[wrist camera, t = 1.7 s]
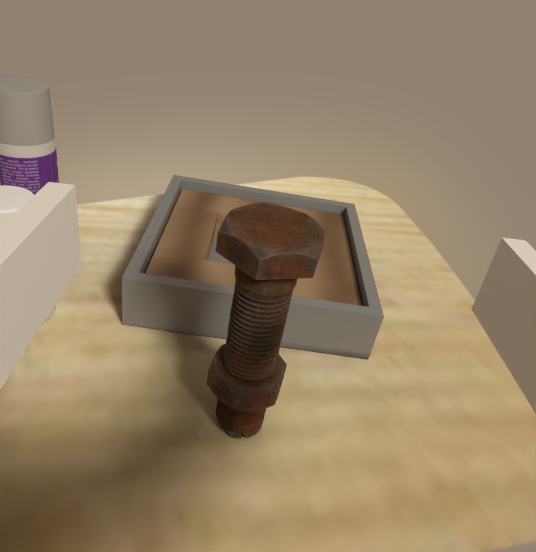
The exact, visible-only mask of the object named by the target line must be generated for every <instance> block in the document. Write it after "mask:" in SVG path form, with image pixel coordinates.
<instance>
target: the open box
mask: <svg viewBox="0 0 536 552" xmlns="http://www.w3.org/2000/svg"><path fill="white" fill-rule="evenodd" d="M182 189H186V190H192V191H198V192H205V193H211V194H217V195H223V196H230V197H236V198H242V199H248V200H255V201H261V202H267V203H273V204H280V205H286V206H292V207H298V208H304V209H311V210H317V211H323V212H329V213H336V214H342V215H343V217H344V222H345V227H346V232H347V237H348V242H349V247H350V251H351V256H352V261H353V266H354V271H355V276H356V280H357V285H358V290H359V295H360V300H361V305H362V306H359V305H352V304H346V303H339V302H332V301H326V300H319V299H312V298H306V297H299V296H292V297H291V301H290V306H289V311H288V314H287V320H286V324H285V327H284V332H283V336H282V341H281V344H280V347H285V348H291V349H298V350H305V351H312V352H319V353H326V354H333V355H340V356H347V357H354V358H361V359H368V358H369V355H370V353H371V350H372V347H373V345H374V342H375V339H376V336H377V334H378V331H379V328H380V326H381V323H382V320H383V318H384V316H383V312H382V308H381V304H380V300H379V297H378V293H377V289H376V285H375V281H374V277H373V273H372V270H371V266H370V262H369V258H368V254H367V250H366V247H365V243H364V239H363V235H362V231H361V227H360V223H359V220H358V216H357V212H356V208H355V204H350V203H344V202H337V201H331V200H325V199H319V198H313V197H307V196H300V195H294V194H288V193H282V192H276V191H269V190H263V189H257V188H251V187H245V186H239V185H232V184H226V183H220V182H214V181H208V180H201V179H195V178H189V177H182V176H177V175H174V176H173V178H172V180H171V182H170V184H169V186H168V188H167V190H166V192H165V194H164V196H163V198H162V200H161V202H160V204H159V205H158V207H157V209H156V211H155V213H154V215H153V217H152V219H151V221H150V223H149V225H148V227H147V229H146V231H145V233H144V235H143V237H142V239H141V241H140V243H139V245H138V247H137V249H136V251H135V253H134V255H133V257H132V259H131V261H130V263H129V265H128V267H127V268H126V270H125V272H124V274H123V276H122V324H124V325H131V326H138V327H145V328H152V329H159V330H166V331H173V332H180V333H187V334H194V335H201V336H208V337H215V338H222V339H227V333H228V325H229V318H230V311H231V305H232V300H233V294H234V287H232V286H225V285H219V284H212V283H205V282H198V281H192V280H185V279H178V278H172V277H165V276H158V275H152V274H145V273H146V270H147V268H148V266H149V264H150V261H151V259H152V257H153V255H154V252H155V250H156V248H157V245H158V243H159V241H160V239H161V236H162V234H163V232H164V230H165V227H166V225H167V223H168V221H169V218H170V216H171V214H172V212H173V209H174V207H175V205H176V203H177V200H178V198H179V196H180V194H181V191H182ZM216 243H217V239H214V243H213V247H212V251H211V255H210V259H209V261H213V262H219V263H226V264H233V263H231V262H230V261H228V260H227V259H225V258H224V257H223V256H221V255H220V254H218V253H217V252H215V251H216ZM233 265H234V264H233Z"/></svg>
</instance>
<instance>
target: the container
mask: <svg viewBox="0 0 536 552" xmlns="http://www.w3.org/2000/svg"><path fill="white" fill-rule="evenodd" d="M48 182H54V183H59V178H58V166H57V154H56V145H55V136H54V127H53V119H52V110H51V101H50V92H49V86H48V84H47V83H45V82H43V81H40V80H37V79H33V78H27V77H18V76H0V186H3V185H6V186H17V187H21V188H25V189H27V190H29V191H30V192H32V193H33V195H35V194H36V193H37V192H38V191H39V190H40V189H42V188H43V187H44V186H45V185H46V184H47V183H48Z"/></svg>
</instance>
